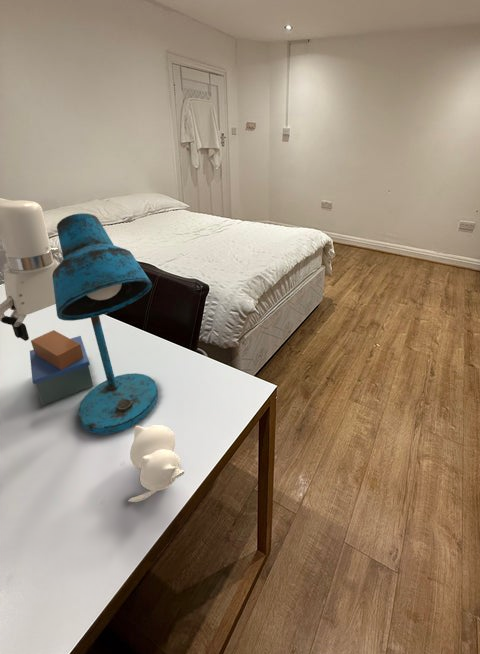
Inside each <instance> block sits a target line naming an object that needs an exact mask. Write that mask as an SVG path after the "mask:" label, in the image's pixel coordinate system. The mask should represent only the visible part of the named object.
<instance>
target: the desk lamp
mask: <svg viewBox="0 0 480 654" xmlns="http://www.w3.org/2000/svg"><path fill="white" fill-rule="evenodd" d="M99 219H100V218H98V217H97V215H94V214H91V213H84V212H82V213H81V212H79V213H74V214H70V215H68V216H66V217H64V218H62V219H61V220H59V222H58V223H57V224H56V230H57V235H58V236H57V237H58V241H59V247H60V250H61V256H62V260H61V261H60V263H58V264H59V265H58V266H57V268H56V269H55V270H54V272H53V275H52V276H53V285H54V293H55V302H56V304H55V310H56V316H57V318H58V319H59V320H61V321H65V322H66V321H68V322H69V321H70V322H71V321H81V320H87V319H91V320H90V321H91V325H92V329H93V332H94V336H95V340H96V343H97V348H98V351H99V355H100V359H101V363H102V367H103V370H104V375H105V378H106V380H104V381H102V382H101V383H98V384H97V385H95V386H94V387H92V389H91V390H89V392H88V393H87V394H86V395H85V396H84V397H83V398H82V401H80V403H79V408H78V416H79V422H80V425H81V426H82V427H83V429H84V430H86V431H88V432H90V433H92V434H99V435H106V434H114V433H117V432H121V431H125V430H127V429H129V428H132V427H134V426H136V424H139V422H141V421H142V420H144V419H145V418H146V417H147V416H148V415H149V414H150V413H151V412H152V410H153V409H154V408H155V406H156V404H157V402H158V398H159V391H158V386H157V384H156V381H155V380H154V379H153V378H152V377H151V376H148V375H145V374H142V373H125V374H120V375H116V376H115V374H114V373H115V372H114V370H113V369H114V368H113V366H112V362H111V358H110V353H109V350H108V347H107V342H106V338H105V334H104V330H103V327H102V322H101V318H100V316H103V315H106V314H109V313H112V312H114V311H117V310H119V309H122V308H124V307H126V306H128V305H130V304H132V303H134V302H136V301H138V300H139V299H141V298H143V297H145V295H147V294H148V293H149V292H150V291H151V289H153V285H154V284H153V282H152V281H151V280H150V278H149V277H148V275H147V274H146V273H145V271H144V269H143V268H142V267H141V265H140V264H139V262H138V260H137V259H136V258H135V256H134V254H133V253H132V252H131V251H130V250H128V249H126V248H124V247H121V246H117V245H114V243H113V241H112V240H111V238H110V236H109V234H108V233H107V231H106V229H105V227H104V226H103V224H102V223H101V221H100V220H99Z"/></svg>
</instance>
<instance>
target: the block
mask: <svg viewBox="0 0 480 654" xmlns="http://www.w3.org/2000/svg"><path fill="white" fill-rule="evenodd" d="M30 343H31V346H32V350H34V352H35V354H36V355H37V356H39V357H41V358H42V359H44V360H46V361H47V362H49V363H50V364H52V365H54V366H55V367H57V368H59V369H60V370H63V369H64V368H66V367H68V366H70V365H71V364H73V363H75V362H77V361H79V360H80V359H82V358H83V354H82V350H81V346H80V344H79V343H77V342H75V341H73V340H71V338H69V337H68V336H65V335H64V334H62V333H60V332H58V331H57V330H54V329H53V330H50V331H49V332H47V333H44V334H42V335H40V336H37V337H35V338H33V339H31V340H30Z"/></svg>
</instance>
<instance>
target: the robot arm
mask: <svg viewBox="0 0 480 654" xmlns="http://www.w3.org/2000/svg"><path fill="white" fill-rule="evenodd" d="M0 241H1V245H2V248H3V251H4V256H5V258H6V262H7V265H8V266H7V267H8V268H7V267H6V268H4V269H3V281H4V282H3V283H4V291H5V298H6V299H5V300H3V302H1V303H0V322H1V323H3V324H6V325H10V326H11V327H12V330H13V333H14V336H15V337H16V338H17V339H19V338H20V339H21V340H23V341H24V342H27V341H29V340H30V337H29V333H28V329H27V325H26V324H25V323H23V322H24V321H25V319H26V318H27V316H28V315H30V314H31V315H32V314H33V313H36V312H39V311H41V310H44V309H47V308H49V307H52V306H54V305H56V302H55V293H54V285H53V276H52V275H53V272H54V270H55V269H56V268H57V266H58V265H59V264H60V263H59V262H58V260H57V259H56V258H55V256H56V255H57V254H59V253H60V251H59V249H58V248H57V247H55V248H53V247H52V246H51V242H50V238H49V233H48V228H47V225H46V220H45V214H44V211H43V208H42V206H41V204H39V203H38V202H36V201H33V200H25V199H24V200H23V199H21V200H12V199H6V198H3V197H0ZM9 309H10V310H11V314H10V316H8V315H5V312H6V311H8V310H9Z"/></svg>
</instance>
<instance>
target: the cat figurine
mask: <svg viewBox="0 0 480 654" xmlns="http://www.w3.org/2000/svg"><path fill="white" fill-rule="evenodd" d="M133 430H134V431H133V434H134V437H133V442H132V443H131V447H130V451H129V457H130V461H131V463H132V465H133V466H134V467H135V468H136V469H139V470H140V474H139V480H140V484H141V486H143V487H144V488H145V489H146V490H149V491H147V492H144V493H142V494H138V495H135V496H133V497H131V498H129V499H128V502H130V503H137V502H141V501H144V500H145V499H148V498H149V497H150V496H152V495H153V494H155V493H157V491H162V490H165V489H168V488H169V487H170V486H171V485H173V483H174V482H175V481H176V480H177V479H178V478H180V477H182V476H183V475H185V470H184V469H181V460H180V456H179V455H178V454H177V452H174V450H175V447H176V436H175V433H174V432H173V430H172V429H170V428H169V427H168V426H165V425H163V424H153V425H150V426H146V427H144V426H141V425H135V427H134V429H133Z"/></svg>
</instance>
